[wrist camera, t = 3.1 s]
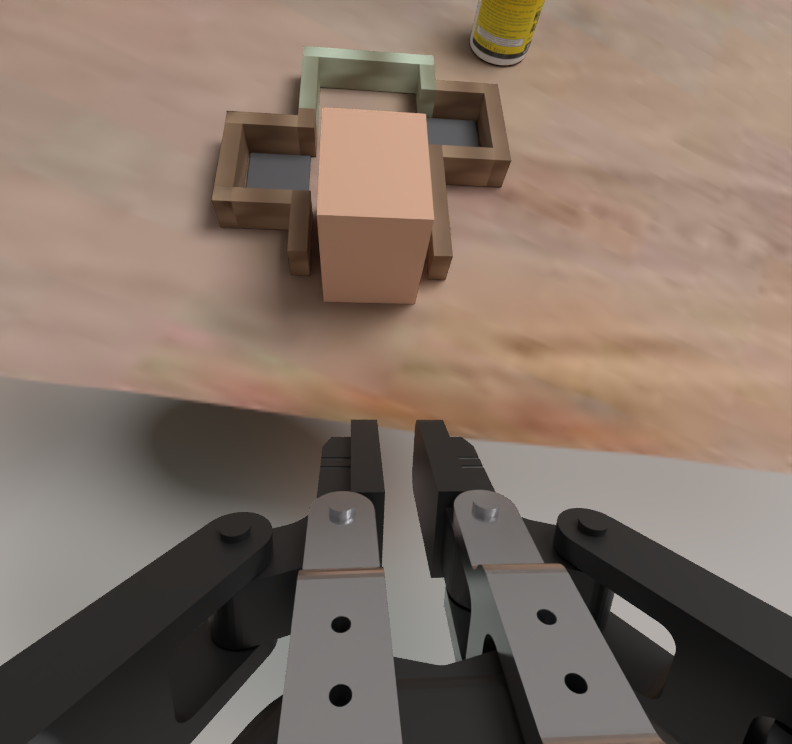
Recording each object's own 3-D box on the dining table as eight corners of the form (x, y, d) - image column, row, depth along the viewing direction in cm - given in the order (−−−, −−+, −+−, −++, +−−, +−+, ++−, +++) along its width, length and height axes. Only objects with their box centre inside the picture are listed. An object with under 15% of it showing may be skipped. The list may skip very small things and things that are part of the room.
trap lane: (213, 272, 32) (203, 247, 30) (245, 72, 40) (239, 41, 38) (516, 281, 34) (528, 259, 31) (485, 89, 42) (493, 60, 40)
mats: (243, 212, 34) (243, 210, 34) (257, 109, 39) (257, 107, 38) (488, 222, 36) (489, 220, 36) (474, 123, 40) (475, 120, 40)
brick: (323, 301, 32) (316, 214, 24) (327, 208, 35) (322, 107, 28) (414, 304, 32) (434, 219, 25) (409, 211, 36) (425, 113, 28)
